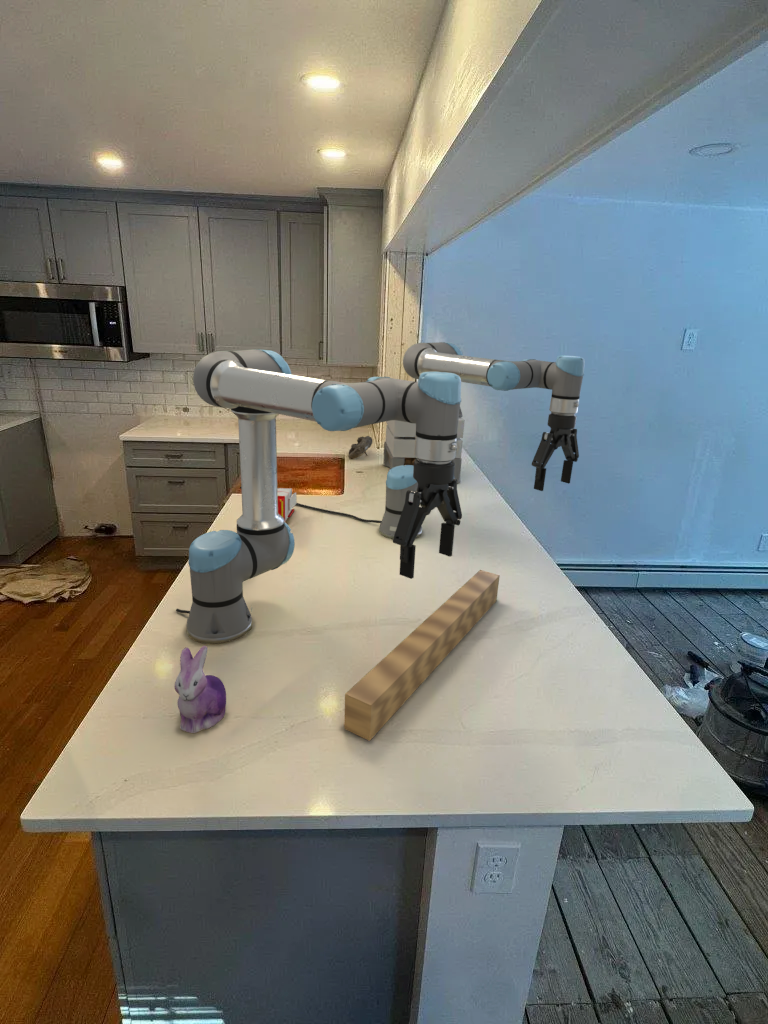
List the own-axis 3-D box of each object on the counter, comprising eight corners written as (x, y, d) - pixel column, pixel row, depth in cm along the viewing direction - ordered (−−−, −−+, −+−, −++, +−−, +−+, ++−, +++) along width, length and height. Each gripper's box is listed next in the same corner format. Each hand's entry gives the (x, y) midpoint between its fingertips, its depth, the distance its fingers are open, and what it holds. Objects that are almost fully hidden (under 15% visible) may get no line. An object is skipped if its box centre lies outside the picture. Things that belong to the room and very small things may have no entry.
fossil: (348, 442, 312) (369, 426, 307) (359, 455, 315) (380, 440, 310) (341, 456, 292) (364, 439, 287) (353, 470, 295) (376, 454, 290)
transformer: (382, 463, 289) (386, 382, 275) (445, 464, 293) (451, 384, 279) (390, 482, 257) (394, 392, 243) (460, 483, 261) (468, 394, 247)
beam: (477, 595, 159) (480, 569, 156) (496, 601, 156) (499, 575, 154) (344, 728, 107) (344, 693, 104) (369, 741, 104) (371, 705, 101)
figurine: (181, 742, 101) (174, 672, 96) (173, 708, 110) (166, 641, 105) (234, 727, 105) (230, 658, 100) (222, 695, 114) (218, 630, 109)
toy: (298, 483, 218) (287, 497, 189) (298, 517, 221) (287, 536, 192) (266, 482, 218) (251, 496, 189) (267, 516, 221) (251, 535, 191)
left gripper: (411, 476, 92) (404, 593, 99) (485, 451, 111) (475, 551, 118) (375, 467, 96) (371, 580, 104) (452, 445, 115) (444, 541, 122)
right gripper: (548, 419, 148) (537, 496, 155) (598, 411, 163) (586, 482, 171) (524, 414, 153) (515, 489, 160) (575, 407, 169) (564, 476, 176)
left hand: (426, 564), depth 111 cm, fingers open, 13 cm apart
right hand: (552, 486), depth 165 cm, fingers open, 13 cm apart
